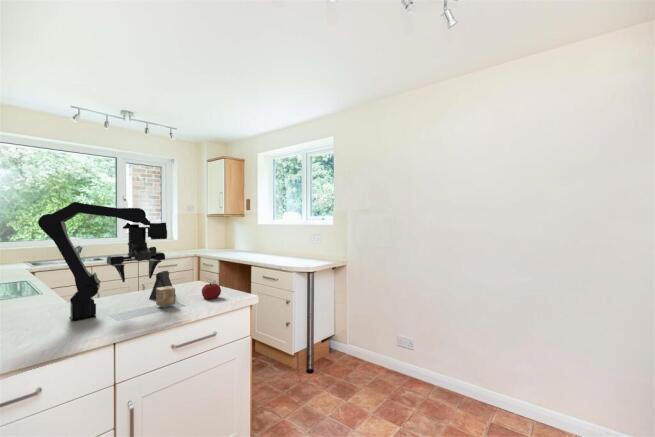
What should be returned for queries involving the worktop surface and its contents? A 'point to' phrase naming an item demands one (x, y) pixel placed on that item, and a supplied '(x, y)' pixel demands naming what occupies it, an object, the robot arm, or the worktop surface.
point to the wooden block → (165, 296)
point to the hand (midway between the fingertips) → (137, 280)
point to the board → (143, 311)
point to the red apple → (211, 291)
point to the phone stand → (160, 282)
